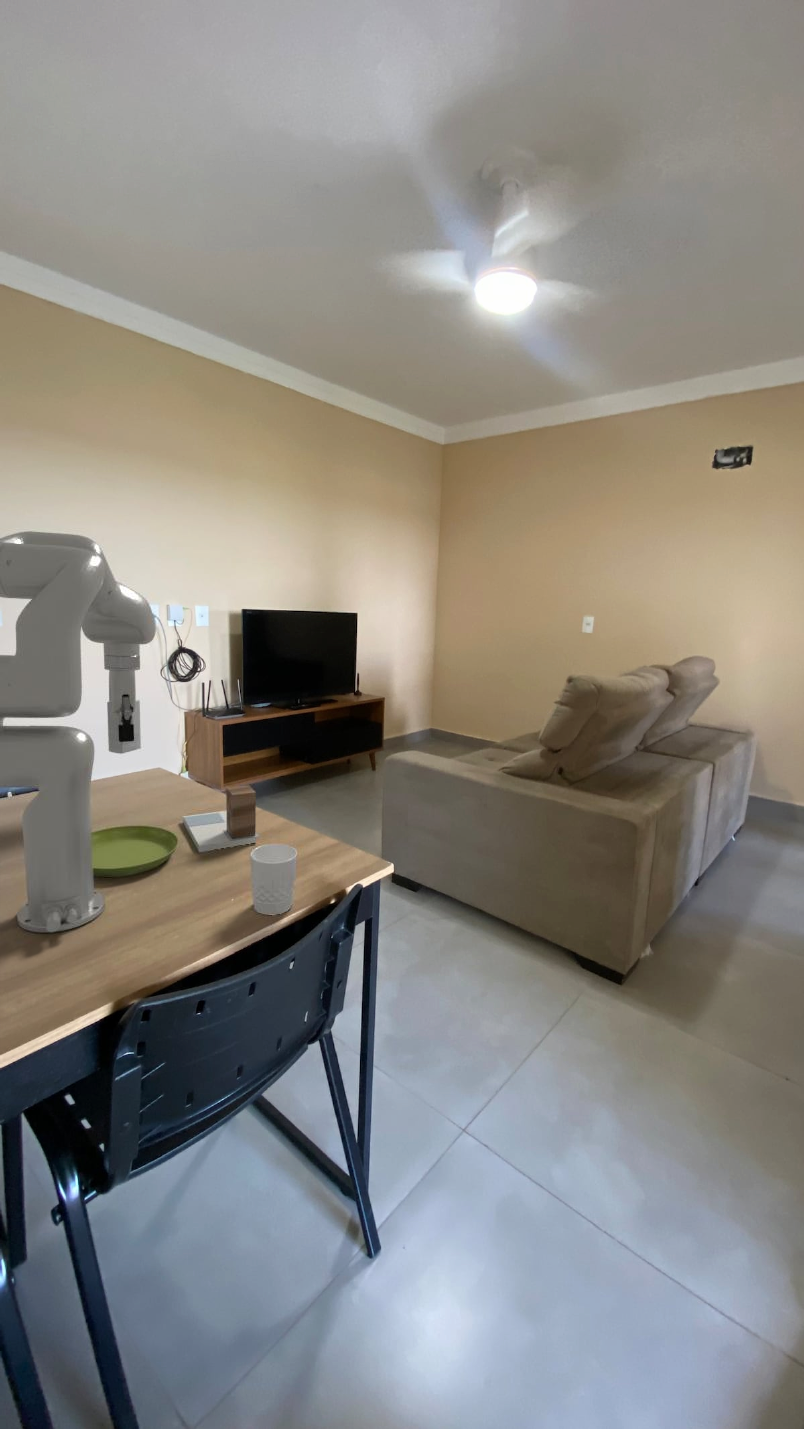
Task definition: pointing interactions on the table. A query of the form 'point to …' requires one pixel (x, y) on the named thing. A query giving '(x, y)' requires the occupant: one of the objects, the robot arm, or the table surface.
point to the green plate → (130, 849)
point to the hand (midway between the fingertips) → (124, 737)
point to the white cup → (273, 878)
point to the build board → (212, 831)
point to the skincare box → (114, 734)
